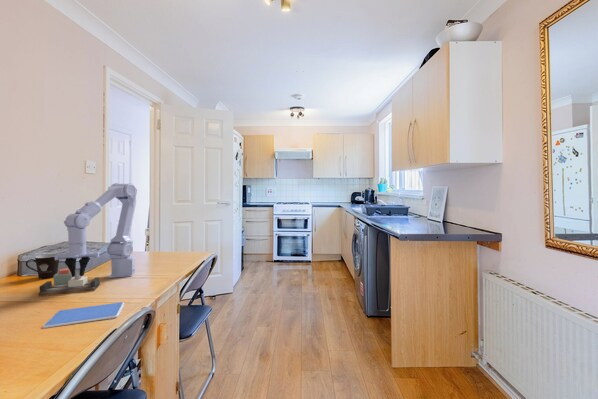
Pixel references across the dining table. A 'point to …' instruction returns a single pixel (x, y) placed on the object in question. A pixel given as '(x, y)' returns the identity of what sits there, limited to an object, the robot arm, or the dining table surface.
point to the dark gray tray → (67, 288)
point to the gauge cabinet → (62, 279)
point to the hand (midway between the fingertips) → (78, 275)
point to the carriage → (77, 279)
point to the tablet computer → (84, 314)
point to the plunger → (64, 271)
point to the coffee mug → (45, 266)
